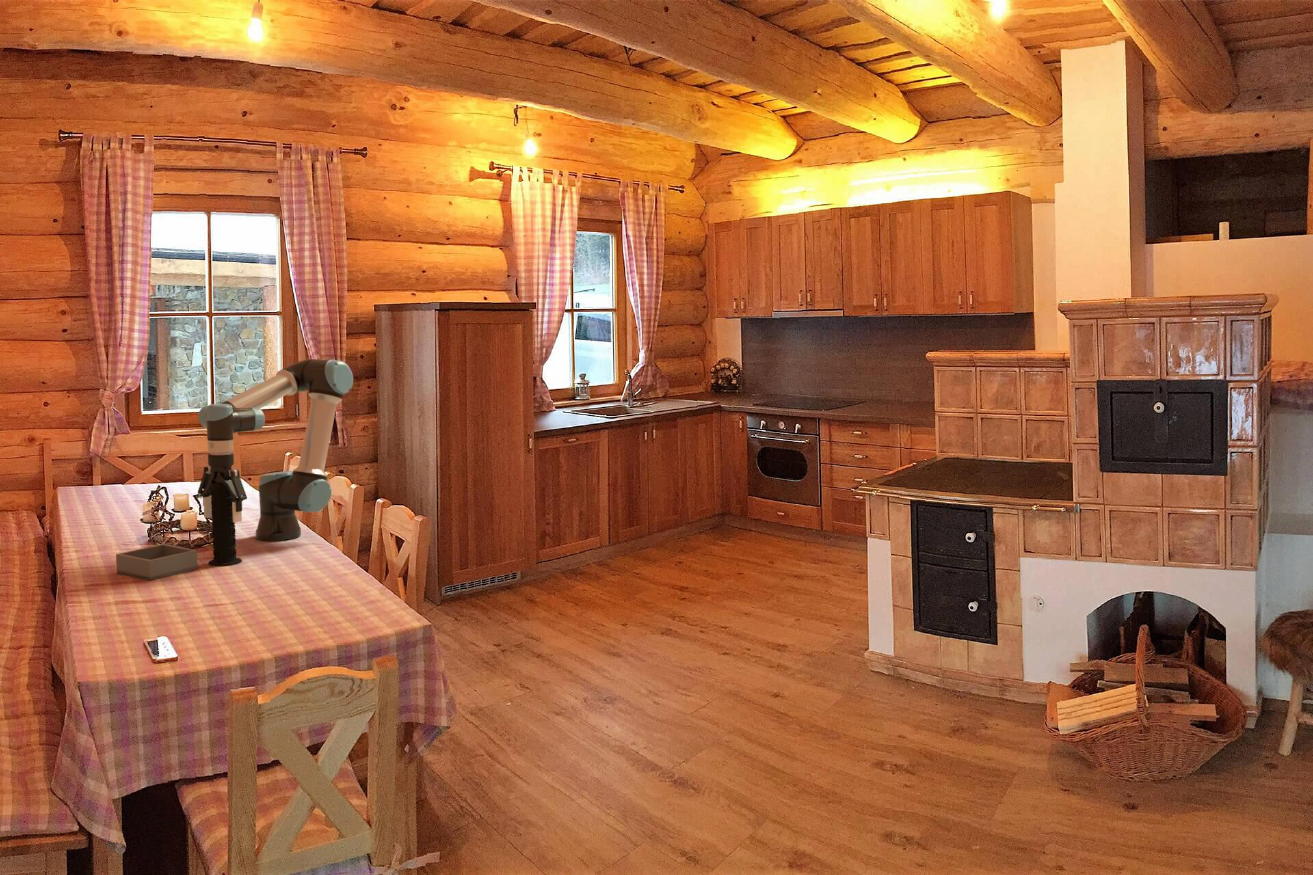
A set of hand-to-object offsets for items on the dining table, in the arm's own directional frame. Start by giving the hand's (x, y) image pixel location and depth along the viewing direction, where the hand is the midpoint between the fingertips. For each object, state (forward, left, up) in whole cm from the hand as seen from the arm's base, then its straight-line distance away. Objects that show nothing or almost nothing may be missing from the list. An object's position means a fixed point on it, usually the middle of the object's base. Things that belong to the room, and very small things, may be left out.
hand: (222, 519), depth 320 cm
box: (+18, -8, -14) cm, 24 cm away
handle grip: (0, 0, -14) cm, 14 cm away
